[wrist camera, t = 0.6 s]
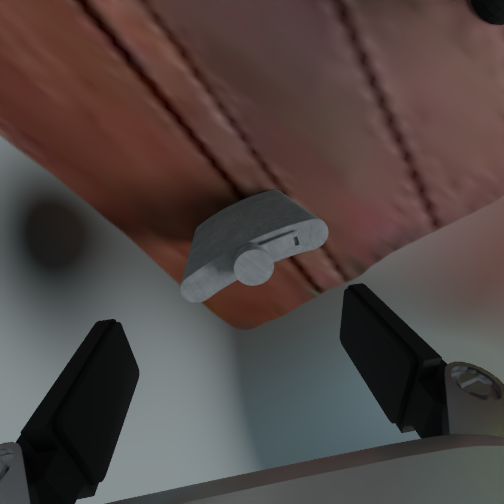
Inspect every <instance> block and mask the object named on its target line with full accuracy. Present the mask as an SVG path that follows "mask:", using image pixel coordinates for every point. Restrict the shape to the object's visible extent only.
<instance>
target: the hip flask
mask: <svg viewBox="0 0 504 504" xmlns="http://www.w3.org/2000/svg"><path fill="white" fill-rule="evenodd" d="M327 237H328V227H327V225H326V224H325V222H323V221H322V220H321V219H319V218H318V217H316V216H315V215H313V214H312V213H311V212H309V211H308V210H306V209H305V208H303V207H302V206H300V205H299V204H298V203H296V202H295V201H293V200H292V199H290V198H289V197H287V196H286V195H285V194H283V193H282V192H280V191H279V190H270V191H266V192H263V193H259V194H256V195H253V196H251V197H248V198H246V199H243V200H241V201H239V202H237V203H235V204H232V205H230V206H228V207H227V208H225V209H223V210H221V211H219V212H218V213H216V214H214V215H213V216H211V217H210V218H208V219H207V220H206V221H204V222H203V223H202V224H200V225H199V226H198V227H197V228H196V230H195V233H194V237H193V241H192V245H191V248H190V252H189V256H188V259H187V263H186V267H185V270H184V274H183V278H182V281H181V285H180V293H181V295H182V296H183V298H184V299H186V300H188V301H190V302H194V303H199V302H203V301H205V300H207V299H208V298H209V297H211V296H212V295H214V294H215V293H216V292H218V291H219V290H221V289H223V288H224V287H226V286H227V285H229V284H231V283H233V282H234V281H236V280H239V281H241V282H242V283H244V284H246V285H252V286H254V285H258V284H262V283H264V282H265V281H267V280H268V279H269V278H270V276H271V275H272V273H273V269H274V264H273V263H274V262H276V261H279V260H281V259H284V258H286V257H289V256H292V255H295V254H299V253H302V252H305V251H309V250H313V249H316V248H318V247H320V246H321V245H323V244H324V242H325V241H326V239H327Z"/></svg>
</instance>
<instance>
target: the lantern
mask: <svg viewBox="0 0 504 504" xmlns="http://www.w3.org/2000/svg"><path fill="white" fill-rule="evenodd" d="M471 2H472V5H473V7H474V9H475V10H476V12H477V14H478V15H479V16H481V17H482V18H483V19H484V20H485V21H487V22H490V23H492V24H499V25H502V24H504V0H471Z"/></svg>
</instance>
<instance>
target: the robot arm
mask: <svg viewBox="0 0 504 504" xmlns="http://www.w3.org/2000/svg"><path fill="white" fill-rule="evenodd" d="M340 341H341V344H342V345H343V347H344V349H345V350H346V352H347V354H348V355H349V357H350V358H351V360H352V362H353V363H354V365H355V366H356V368H357V370H358V371H359V373H360V374H361V376H362V378H363V379H364V381H365V382H366V384H367V385H368V387H369V389H370V390H371V392H372V394H373V395H374V397H375V398H376V400H377V402H378V403H379V405H380V406H381V408H382V410H383V411H384V413H385V414H386V416H387V418H388V419H389V421H390V422H391V423H396V425H397V427H398V428H399V430H400V431H401V433H404V432H410V431H415V430H416V432H417V433H418V435H419V436H420V438H422V439H418V440H412V441H406V442H401V443H395V444H390V445H384V446H379V447H374V448H369V449H364V450H360V451H355V452H349V453H344V454H339V455H334V456H330V457H324V458H319V459H314V460H310V461H305V462H300V463H295V464H290V465H286V466H281V467H276V468H271V469H266V470H261V471H256V472H252V473H247V474H242V475H237V476H233V477H227V478H223V479H218V480H213V481H208V482H204V483H199V484H194V485H189V486H185V487H180V488H176V489H171V490H166V491H161V492H157V493H153V494H147V495H143V496H138V497H133V498H129V499H124V500H119V501H115V502H111V503H107V504H504V384H503V383H502V382H501V381H500V380H499V379H498V378H497V377H495V376H494V375H493V374H491V373H490V372H488V371H486V370H484V369H483V368H481V367H478V366H476V365H473V364H470V363H465V362H452V363H449V364H447V363H446V362H444V361H443V360H442V357H441V356H440V355H439V354H438V353H436V351H435V350H433V349H432V348H431V347H430V346H429V345H428V344H427V343H426V342H425V341H424V340H423V339H422V338H421V337H420V336H418V334H417V333H415V332H414V331H413V330H412V329H411V328H410V327H409V326H408V325H407V324H406V323H405V322H404V321H403V320H402V319H400V318H399V317H398V316H397V315H396V314H395V313H394V312H393V311H392V310H391V309H390V308H389V307H388V306H387V305H386V304H385V303H384V302H383V301H382V300H381V299H380V298H378V297H377V296H376V295H375V294H374V293H373V292H372V291H371V290H370V289H369V288H368V287H367V286H366V285H364V284H354V285H349V286H348V288H347V289H345V291H344V298H343V308H342V319H341V328H340ZM138 379H139V368H138V365H137V363H136V360H135V358H134V355H133V353H132V350H131V348H130V345H129V342H128V340H127V337H126V335H125V332H124V330H123V327H122V325H121V323H120V322H116V320H115V319H110V320H103V321H98V322H96V323H95V325H94V326H93V328H92V329H91V331H90V332H89V333H88V335H87V336H86V338H85V339H84V341H83V342H82V344H81V345H80V347H79V348H78V349H77V351H76V352H75V354H74V355H73V357H72V358H71V360H70V361H69V362H68V364H67V365H66V367H65V368H64V370H63V371H62V373H61V374H60V376H59V377H58V379H57V380H56V381H55V383H54V384H53V386H52V387H51V389H50V390H49V392H48V393H47V395H46V396H45V397H44V399H43V400H42V402H41V403H40V405H39V406H38V408H37V409H36V410H35V412H34V413H33V415H32V416H31V418H30V419H29V421H28V422H27V424H26V425H25V427H24V428H23V430H22V431H21V435H20V437H19V438H18V440H17V441H16V443H14V442H8V443H3V444H0V504H75V502H76V500H77V499H82V498H87V497H92V496H94V495H95V492H96V489H97V487H98V484H99V482H102V481H103V480H104V478H105V476H106V473H107V470H108V467H109V464H110V462H111V458H112V455H113V453H114V450H115V447H116V444H117V441H118V438H119V435H120V432H121V429H122V426H123V423H124V420H125V417H126V414H127V411H128V408H129V405H130V402H131V399H132V396H133V394H134V391H135V388H136V385H137V382H138Z"/></svg>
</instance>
